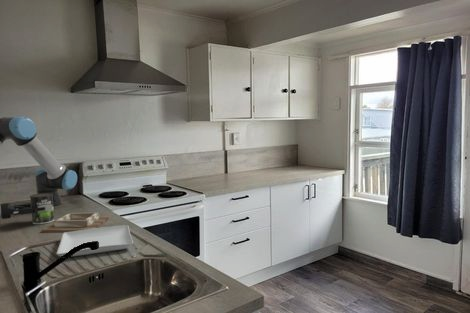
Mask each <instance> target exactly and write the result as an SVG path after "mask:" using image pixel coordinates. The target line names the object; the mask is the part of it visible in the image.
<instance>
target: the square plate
mask: <svg viewBox="0 0 470 313" xmlns="http://www.w3.org/2000/svg"><path fill="white" fill-rule="evenodd" d="M92 241H98V242H99V248H98V249H97V250H91V249H90V248H86V249H82V250H80V251H78V252H77V253H75V254H74V255H73V256H71V257H78V256H88V255H93V254H94V255H95V254H100V253H108V252H115V251H119V250H125V249H128V248H130V247H131V246H132V245H133V244H134V240H133V237H132V235H131V231H130V226H129V225H128V224H125V225H124V224H123V225H111V226H103V227H101V226H100V227H98V228H93V229H85V230H79V231H72V232H62V235H61V239H60V241H59V245H58V248H57V250H56V253H55V254H56V255H57V256H58V257H60V258H62V257H61V256H63V255H64V254H66V253H68V252H69V251H70V250H71V249H73V248H74V247H77V246H79V245H81V244H83V243H87V242H92ZM71 257H70V258H71Z"/></svg>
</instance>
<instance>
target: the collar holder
mask: <svg viewBox="0 0 470 313" xmlns="http://www.w3.org/2000/svg"><path fill="white" fill-rule="evenodd" d="M110 217H112V216H111V215H100V212H98V211H97V212H93V211H92V212H69V213H67V214H64V216H62V217H60V218H57V219H56V220H54V221H53V222H54V223H53V222H52V224H50V225H48V226H46V227H44V228H42V229H41V230H40V232H41V233H65V232H72V231H79V230H85V229H93V228H100V227H101V226H102V225H103V224H105V223H106V222H107V221H108V220H110ZM106 220H107V221H106ZM105 221H106V222H105ZM101 224H102V225H101Z"/></svg>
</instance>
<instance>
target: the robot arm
mask: <svg viewBox="0 0 470 313" xmlns="http://www.w3.org/2000/svg"><path fill="white" fill-rule="evenodd" d="M36 128H37V127H36V124H35V122H34V121H33V120H32V119H30V118H28V117H25V116H12V117H7V116H6V117H0V146H2V145H3V143H4V142H5V141H6V140H11V141H13V143H15V145H17V146H18V147H23V149H24V150H25V151H26V152H27V153H28V154H29V156H31V158H32V159H34V161H35V162H37V164H38V165H39V166H40V167H41V168H40V169H37V170H35V176H34V177H35V186H36V194H41V193H52V194H53V207H56V206H59V205H61V204H62V203H63V200H62V197H61V196H60V192H59V190H66V191H68V190H72V189H73V188H74V187H75V186H76V184H77V182H78V174H77V173H76V171H74V170H72V169H68V167H67V166H66V165H65V164H64V163H63V164H62V163H60V162H59V161H58V160H57V159H56V157H55V156H54V155H53V154H52V152H50V151H49V150H48V148H47V147H46V146H45V145H44V144H43V143H42V142H41V140H40V139H39V138H38V137H37V136H38V133H37V129H36ZM53 209H54V208H53ZM53 209H52V205H44V206H38V207H31V202H26V203H25V202H24V203H19V204H13V206H11V203H10V202H5V203H1V204H0V220H1V219H2V220H6V219H11V217H12V214H13V216H17V215H28V214H30V215H32V213H36V214H38V212H41V211H49V210H53Z"/></svg>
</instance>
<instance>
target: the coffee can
mask: <svg viewBox="0 0 470 313" xmlns="http://www.w3.org/2000/svg"><path fill="white" fill-rule="evenodd" d="M29 197H30V203H31V207H38V206H44V205H52V209H53V210H49V211H41V212H38V214H36V213H31V223H32V224H33V225H45V224H49V223H53V222H54V221H55V213H54V206H53V194H52V193H41V194H37V193H36V194H35V193H34V194H31V195H29Z"/></svg>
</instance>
